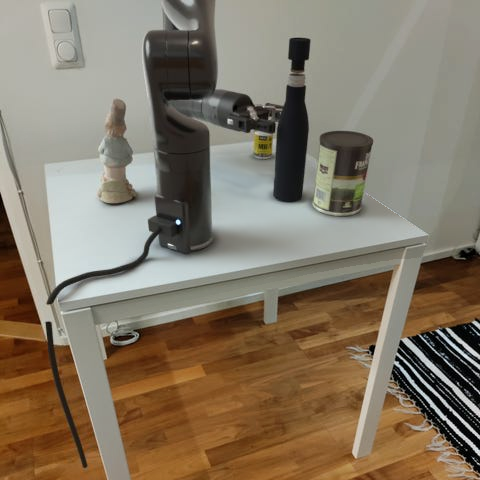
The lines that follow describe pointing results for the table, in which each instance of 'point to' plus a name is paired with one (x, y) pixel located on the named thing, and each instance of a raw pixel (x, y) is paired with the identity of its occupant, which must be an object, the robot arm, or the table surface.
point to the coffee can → (341, 172)
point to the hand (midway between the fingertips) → (287, 123)
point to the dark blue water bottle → (292, 128)
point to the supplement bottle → (263, 145)
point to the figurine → (115, 157)
